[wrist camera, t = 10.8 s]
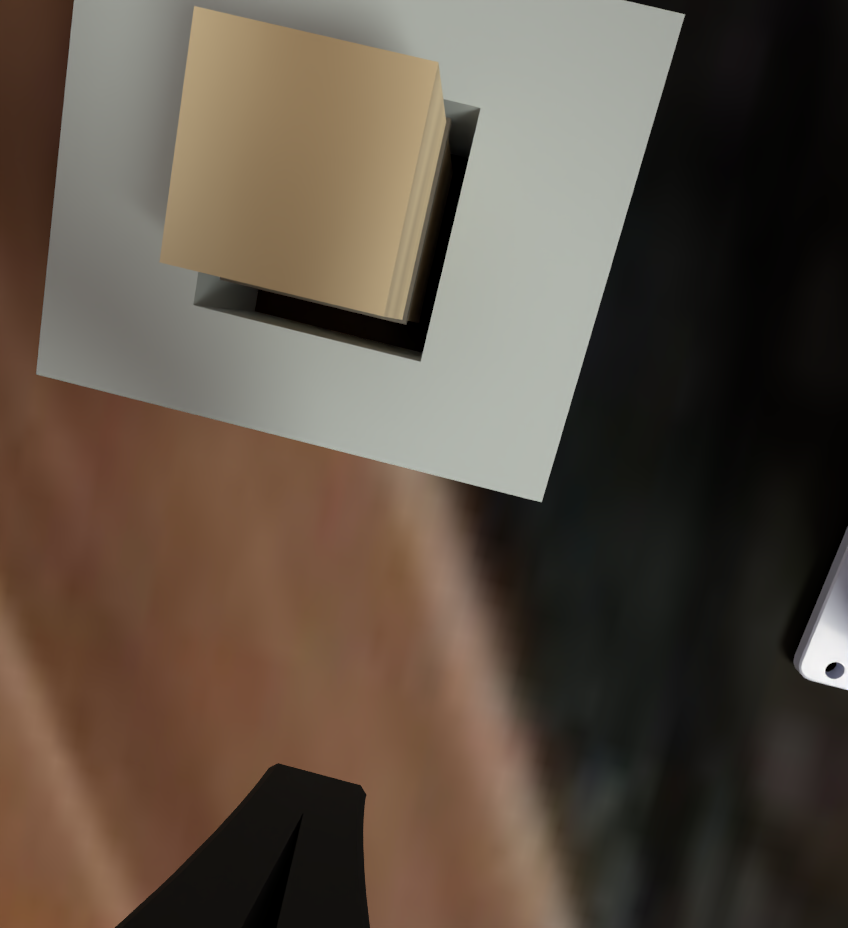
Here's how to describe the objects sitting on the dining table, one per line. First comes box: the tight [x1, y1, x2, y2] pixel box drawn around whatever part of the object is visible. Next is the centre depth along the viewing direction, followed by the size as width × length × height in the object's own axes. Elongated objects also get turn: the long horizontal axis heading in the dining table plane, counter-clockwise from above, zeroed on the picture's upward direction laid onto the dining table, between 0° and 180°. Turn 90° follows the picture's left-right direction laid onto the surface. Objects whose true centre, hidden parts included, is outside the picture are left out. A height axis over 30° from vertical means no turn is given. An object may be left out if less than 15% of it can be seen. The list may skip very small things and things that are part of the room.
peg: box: [159, 6, 453, 325], centre depth 14 cm, size 4×4×7 cm
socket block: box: [36, 0, 685, 502], centre depth 15 cm, size 12×10×4 cm
